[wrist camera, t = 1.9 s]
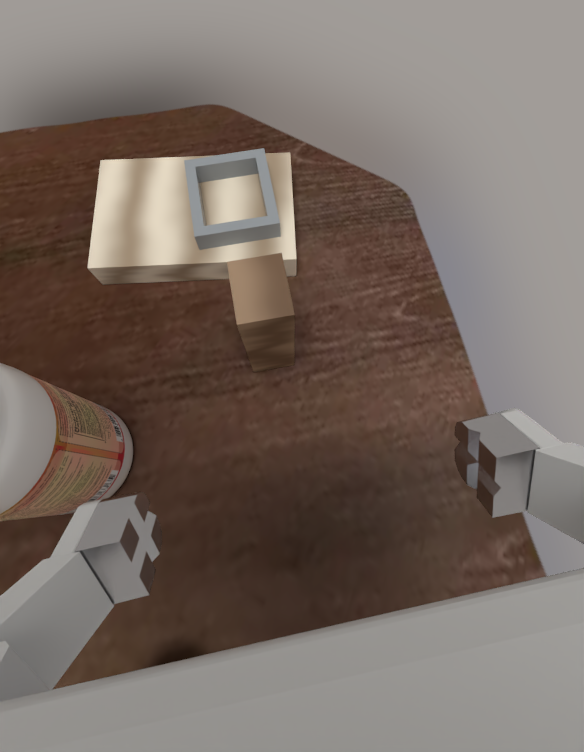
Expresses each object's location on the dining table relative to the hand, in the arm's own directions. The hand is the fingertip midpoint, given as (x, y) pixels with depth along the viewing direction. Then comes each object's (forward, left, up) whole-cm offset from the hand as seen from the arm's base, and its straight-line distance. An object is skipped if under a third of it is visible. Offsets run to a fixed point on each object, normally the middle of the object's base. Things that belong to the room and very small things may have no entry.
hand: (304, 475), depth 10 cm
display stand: (-9, +27, -24) cm, 38 cm away
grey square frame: (-5, +27, -21) cm, 35 cm away
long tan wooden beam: (-2, +13, -24) cm, 28 cm away
